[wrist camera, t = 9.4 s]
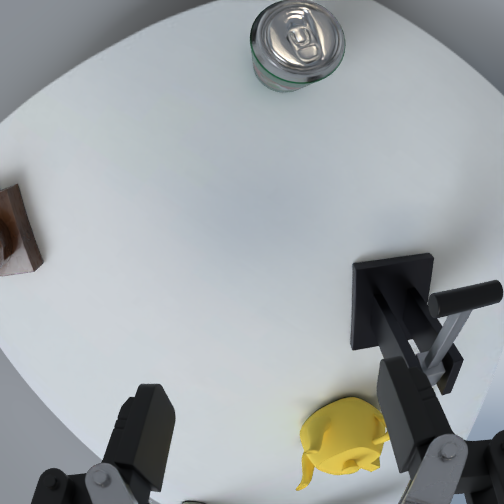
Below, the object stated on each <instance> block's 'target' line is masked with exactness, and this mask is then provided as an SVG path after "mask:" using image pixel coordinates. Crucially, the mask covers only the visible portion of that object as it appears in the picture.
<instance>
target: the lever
mask: <svg viewBox="0 0 504 504" xmlns="http://www.w3.org/2000/svg"><path fill="white" fill-rule="evenodd" d="M502 297H503V288H502V285H501V283H500V282H499V281H498V280H493V281H489V282H484V283H480V284H475V285H471V286H466V287H462V288H457V289H452V290H447V291H442V292H437V293H433V294H431V295H430V296H429V300H428V306H429V311H430V314H431V316H432V317H433V318H440V317H444V316H448V317H447V319H446V321H445V323H444V325H443V327H442V329H441V331H440V332H439V334H438V336H437V338H436V340H435V342H434V343H433V345H432V347H431V349H430V350H429V351H426V352H422V353H418V354H416V358H417V360H418V362H419V364H420V366H421V368H422V370H423V372H424V373H425V374H426V375H427V377H428V379H429V381H430V383H431V386H433V385H436V383H437V382H438V381H439V379H440V378H441V377H442V375H443V374H444V373H445V369H444V366H443V363H442V359H443V358H444V356H445V355H446V353H447V351H448V350H449V348H450V347H451V345H452V344H453V342H454V340H455V339H456V337H457V336H458V334H459V332H460V331H461V329H462V327H463V326H464V324H465V322H466V321H467V319H468V317H469V315H470V313H471V312H472V310H473V309H477V308H481V307H484V306H488V305H492V304H495V303H499V302H500V301H501V300H502Z"/></svg>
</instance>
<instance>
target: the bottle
mask: <svg viewBox="0 0 504 504" xmlns="http://www.w3.org/2000/svg"><path fill="white" fill-rule="evenodd" d="M182 504H203V503H198V502H184V503H182Z"/></svg>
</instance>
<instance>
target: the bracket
mask: <svg viewBox="0 0 504 504" xmlns="http://www.w3.org/2000/svg"><path fill="white" fill-rule="evenodd" d="M433 261H434V257H433V256H432V255H431V254H430V253H425V254H419V255H412V256H405V257H398V258H391V259H384V260H376V261H369V262H362V263H354V264H353V287H352V322H351V342H350V344H351V348H352V350H359V349H364V348H370V347H375V346H379V347H380V349H381V352H382V354H383V357H384V359H386V358H391V357H395V356H400V355H401V356H402V357H403V358H404V360H405V363H406V365H407V367H408V368H411V367H415V366H417V367H418V368H419V369H420V370H421V371H423V370H422V368H421V366H420V364H419V362H418V360H417V358H416V356H415V354H414V352H413V350H412V348H411V346H410V344H409V342H408V340H410V339H413V340H414V342H415V343H416V345H417V347H418V349H419V351H420V353H422V352H426V351H429V350H430V349H431V347H432V345H433V343H434V342H435V340H436V338H437V336H438V334H439V332H440V331H441V329H442V325H441V324H440V322H439V321H438V319H437V318H433V317H432V316H431V314H430V311H429V306H428V305H427V302H428V296H429V290H430V284H431V277H432V269H433ZM463 360H464V359H463V357H462V356H461V354H460V353H459V351H458V350H457V348H456V346H455V345H454V343H453V344H452V345H451V347H450V348H449V350H448V351H447V353H446V355H445V356H444V358H443V359H442V363H443V366H444V369H445V373H444V374H443V375H442V377H441V378H440V379H439V381H438V382H437V383H436V384H437V386H438V388H439V390H440V392H441V394H442V395H445V394H448V393H451V391H452V388H453V386H454V384H455V381H456V379H457V376H458V374H459V371H460V368H461V366H462V363H463Z"/></svg>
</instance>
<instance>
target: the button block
mask: <svg viewBox="0 0 504 504" xmlns="http://www.w3.org/2000/svg"><path fill="white" fill-rule="evenodd" d="M42 264H43V260H42V258H41V255H40V252H39V250H38V247H37V244H36V241H35V238H34V236H33V233H32V230H31V227H30V224H29V221H28V218H27V214H26V211H25V208H24V205H23V201H22V198H21V194H20V191H19V187H18V184H15V185H13V186H10V187H8V188H5V189H3V190H0V276H7V275H14V274H21V273H28V272H34V271H35V270H37V269H38V268H39V267H40V266H41V265H42Z"/></svg>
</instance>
